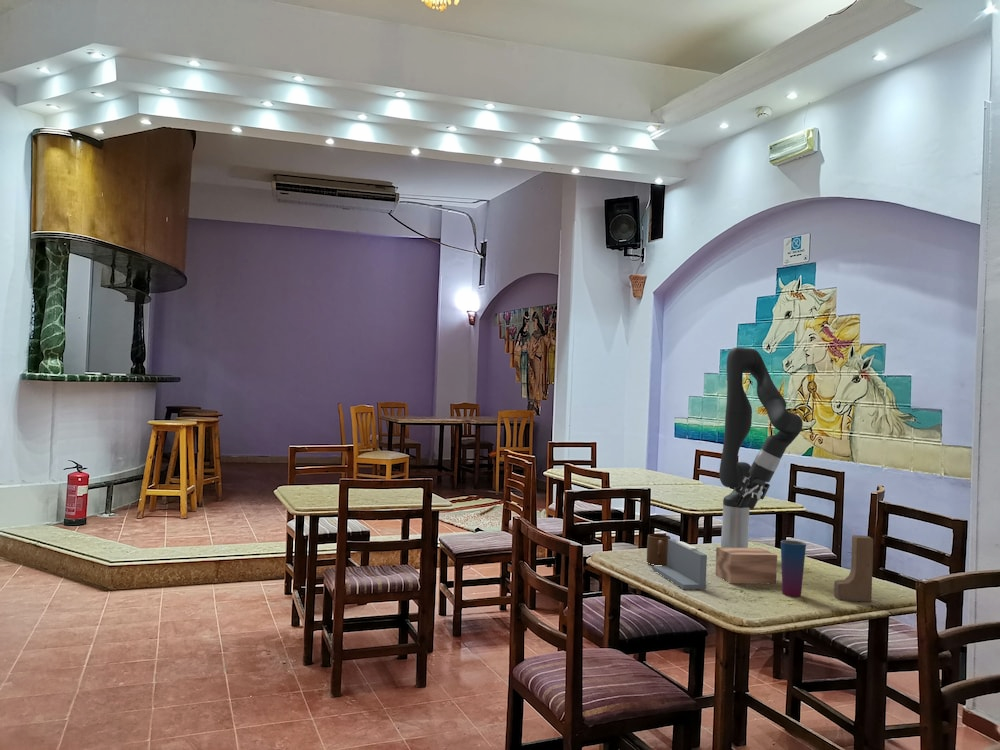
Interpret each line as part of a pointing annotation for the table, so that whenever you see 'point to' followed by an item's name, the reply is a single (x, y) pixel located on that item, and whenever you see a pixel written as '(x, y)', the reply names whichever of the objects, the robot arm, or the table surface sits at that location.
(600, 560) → the table surface
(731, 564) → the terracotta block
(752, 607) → the table surface
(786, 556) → the cup
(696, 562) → the rail
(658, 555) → the mug
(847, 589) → the wooden block
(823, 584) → the table surface
